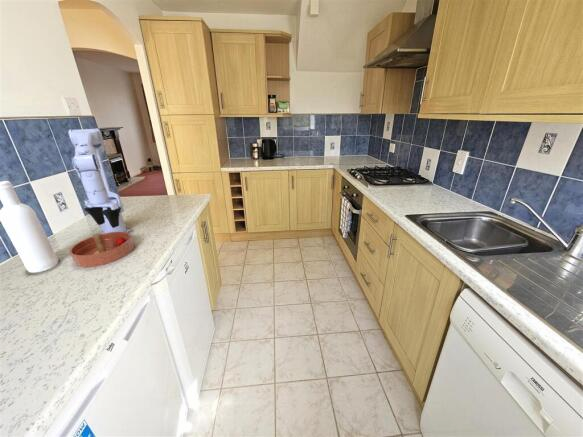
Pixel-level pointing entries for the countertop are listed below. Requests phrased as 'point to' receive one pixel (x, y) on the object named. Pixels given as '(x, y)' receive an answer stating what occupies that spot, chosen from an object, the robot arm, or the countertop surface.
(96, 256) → the bowl
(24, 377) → the countertop surface
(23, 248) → the bottle
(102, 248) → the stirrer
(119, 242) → the tomato
